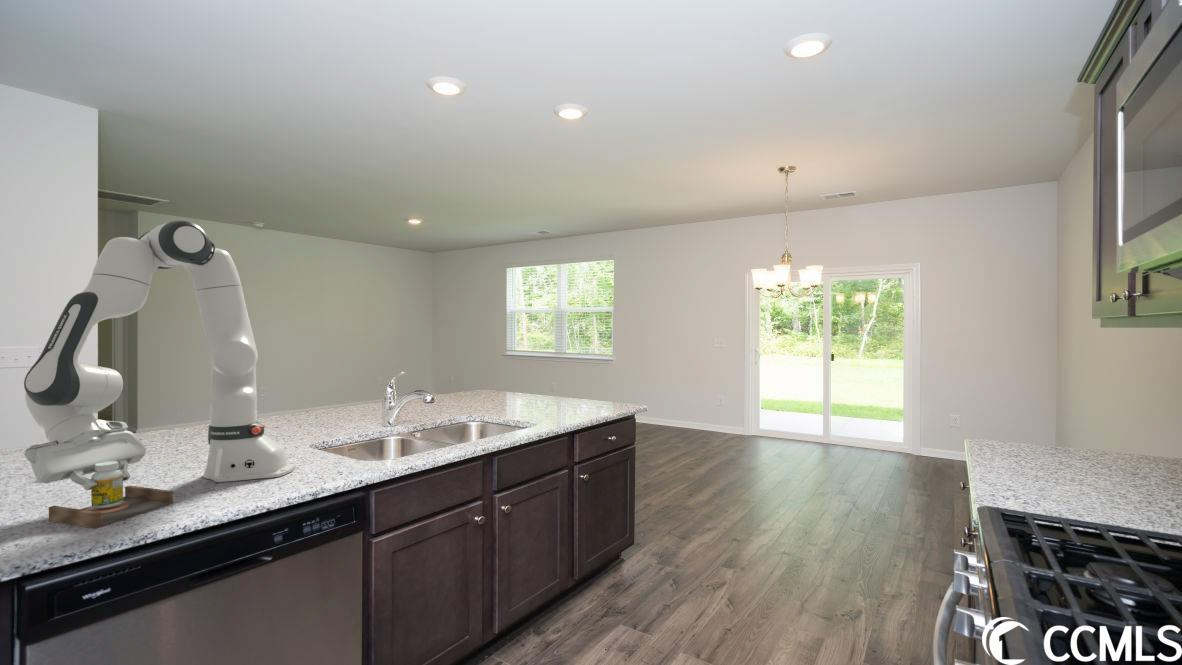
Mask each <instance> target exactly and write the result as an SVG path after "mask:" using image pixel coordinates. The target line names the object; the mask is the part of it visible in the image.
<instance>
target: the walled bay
mask: <svg viewBox="0 0 1182 665" xmlns="http://www.w3.org/2000/svg"><path fill="white" fill-rule="evenodd" d="M173 504H174V490H169V489H168V490H167V489H160V488H152V487H144V486H136V485H126V486H124V496H123V502H122V503H121V504H119V505H117V506H113V507H109V508H101V509H96V508H93V507H92V505H90V506H87V507H83V508H72V507H66V506H59V505H52V506H48V522H52V521H53V522H54V523H61V524H65V523H66V525H71V524H73V526H77V525H79V526H80V527H84V526H85V527H84V528H90V527H91V528H90V529H98V528H101V527H105V526H108V525H110V524H115V523H116V522H120V521H123V520H126V519H129V518H133V517H136V516H139V515H142V514H145V513H147V512H152V511H154V510H157V509H160V508H164V507H167V506H170V505H173ZM53 522H52V523H53ZM79 526H78V527H79Z"/></svg>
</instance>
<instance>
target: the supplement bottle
mask: <svg viewBox="0 0 1182 665" xmlns="http://www.w3.org/2000/svg"><path fill="white" fill-rule="evenodd" d="M118 467H119V466H118V462H117V461H109V462H103V463H99V464H95V471H97V472H94V473H93V474H92V475H91V477H90V479H93V478H94V480H95V482H96V483H97V486H96V487H95V488H94V489H91V490H90V492H91V493H90V494H91V495H90V496H91V497H90V498H91V501H90V502H91V506H92V507H93V508H96V509H101V508H109V507H113V506H117V505H119V504H121V503H122V502H123V497H124V481H123V473H122V472H121V471H120V470H117V468H118Z"/></svg>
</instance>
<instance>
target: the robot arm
mask: <svg viewBox="0 0 1182 665" xmlns="http://www.w3.org/2000/svg"><path fill="white" fill-rule="evenodd" d="M179 267H182V268H183V269H185V270H186V272H187V273H188V274H189V277H190V278H191V280H192V286H193V291H194V295H195V298H196V303H197V304H196V305H197V307H198V312H199V316H200V321H201V325H202V329H203V334H204V339H205V344H206V348H207V351H208V357H209V363H210V388H209V389H210V391H209V392H210V399H209V401H210V402H209V404H210V405H209V406H210V408H209V409H210V410H209V411H210V416H209V417H210V418H209V422H210V424H209V425H208V431H207V440H208V445H209V448H208V456H207V461H206V466H205V469H204V473H203V475H202V476H203V478H204V479H208V480H212V481H213V482H215V483H223V482H237V481H246V480H247V481H248V480H258V479H268V478H269V479H271V478H280V477H283V476H285V475H288V474H289V473H291V472H292V471H294V470H295V469H296V466H297V465H296V462H295V461H293V460H292V461H291V460H288V456H287V455H288V454H287V451H286V448H285V447H284V445H282V444H281V443H278V442H277V441H276V440H274V439H273V438H271V437H269V436H267V435H266V434H265V428H266V427H267V425H266V423H263V424H262V423H260V422H259V421H258V419H257V418H258V417H257V416H258V415H257V414H258V405H257V404H258V401H257V400H258V398H257V397H258V394H257V393H258V391H257V363H258V359H259V354H258V350H257V344H256V341H255V337H254V332H253V328H252V325H251V320H250V317H249V313H248V308H247V304H246V299H245V295H244V291H243V285H242V282H241V278H240V275H239V274H240V273H239V272H238V269H237V266H236V264H235V261H234V260H233V258H232V255H231V254H230V253H229V252H228V251H226V250H225V249H222V248H217V247H216V246H215V244H214V243H213V241H212V240H211V239H210V238H209V236H208V234H207V232H206V231H205V230H204V229H203V228H202V227H201V226H199V225H198V224H196V223H194V222H192V221H187V220H186V221H185V220H174V221H169V222H167V223H162V224H160V225H157V226H156V227H154V228H153V229H151V230H149V231H147V232H145V233H144V234H142V235H141V236H140V237H139V238H134V237H128V236H125V237H124V236H119V237H113V238H112V239H110V240H108V241H107V242H106V244H105V245H104V247H103V248H102V251H101V252H100V254H99V256H98V259H97V260H96V263H95V265H94V268H93V270H92V275H91V276H90V280H89V282H88V284H87V285H86V287H85V289H84V290H82V292H80V293H77V294H75V295H73V296H72V297H71V298H70V299H69V301H68V302H67V304H66V305H65V307H64V309H63V310H62V312H61V314H60V316H59V317H58V320H57V322H56V324H55V326H54V328H53V329H52V332H51V334H50V335H49V338H48V340H47V342H46V344H45V346H44V348H43V349H42V352H41V353H40V355H39V356H38V358H37V360H36V361H35V363H34V364H33V365H32V366H31V368H30V369H29V370H28V372H27V373H26V375H25V377H24V381H23V385H24V390H25V403H26V406H27V408H28V411H29V414H31V416H32V418H33V419H34V421H35V423H37V425H38V426H39V427H41V428H42V429H43V430H44V433H45V437H46V439H47V440H48V442H45V443H40V444H39V443H38V444H32V445H30V446H29V447H28V448H27V449H25V450H24V453H23V454H24V456H25V458H26V460H27V461H28V462H30V466H31V469H32V471H33V474H34V476H35V478H36V480H37V481H38V482H39V483H42V484H49V483H54V482H57V481H58V482H59V481H63V480H67V479H70V480H71V482H73V483H75V484H78V485H80V486H82V487H83V489H84V490H85V491H91V489H94V488H95V487H96V486H97V483H96V482H95V480H94V478H93V479H91V478H88V477H86V476H85V475H89V474H92V473H93V474H94V473H97V471H95V464H99V463H103V462H109V461H117V462H118V466H119V467H118V468H117V470H120V471H121V472H122V473H123V482H124V481H128V480H129V479H130V477H131V475H130V472H128V468H129V465H130V464H136V463H139V462H140V461H141V460H142V459H143V458H144V456H145V455H146V452H147V449H146V447H145V445H144V443H142V441H141V440H140V438H138V436H137V435H136V434H135V433H133V432H132V431H130V430H128V425H127V423H126V422H123V421H119V420H117V421H115V420H104V419H96V417H95V414H96V413H99V412H101V411H103V410H105V409H106V408H108V407H109V406H111V405H113V404H114V403H115V402H117V401H118V400H119V399H120V398H121V397H122V395H123V393H124V390H125V380H124V377H123V376H122V374H121V373H120V371H118V370H117V369H115V368H110V367H104V366H98V365H91V364H85V363H79V362H78V358H79V355H80V353H81V352H82V349H83V347H84V345H85V343H86V342H87V339H88V337H89V334H90V332H91V331H92V329H93V328H94V327H95V325H96V324H98V323H100V322H102V321H105V320H109V319H115V318H123V317H127V316H130V315H133V314H135V313H136V312H138V311H140V310H141V309H142V308H143V307H144V305H145V303H146V302H147V299H148V297H149V296H148V295H149V292H150V288H151V285H152V281H153V280H152V279H153V276H154V274H155V272H156V270H157V269H158V270H160V269H161V270H166V269H167V270H168V269H173V268H179Z"/></svg>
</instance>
